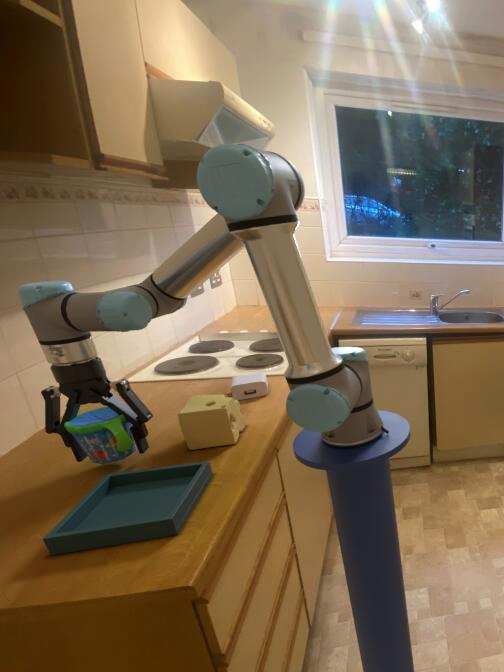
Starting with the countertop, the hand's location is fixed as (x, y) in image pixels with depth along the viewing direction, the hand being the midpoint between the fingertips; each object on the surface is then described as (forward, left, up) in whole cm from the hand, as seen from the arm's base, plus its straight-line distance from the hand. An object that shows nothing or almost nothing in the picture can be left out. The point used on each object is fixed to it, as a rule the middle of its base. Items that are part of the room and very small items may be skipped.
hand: (114, 454), depth 96 cm
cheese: (-18, -7, -3) cm, 19 cm away
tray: (-13, +20, -3) cm, 24 cm away
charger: (-18, -39, -3) cm, 43 cm away
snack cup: (0, 0, -1) cm, 1 cm away
